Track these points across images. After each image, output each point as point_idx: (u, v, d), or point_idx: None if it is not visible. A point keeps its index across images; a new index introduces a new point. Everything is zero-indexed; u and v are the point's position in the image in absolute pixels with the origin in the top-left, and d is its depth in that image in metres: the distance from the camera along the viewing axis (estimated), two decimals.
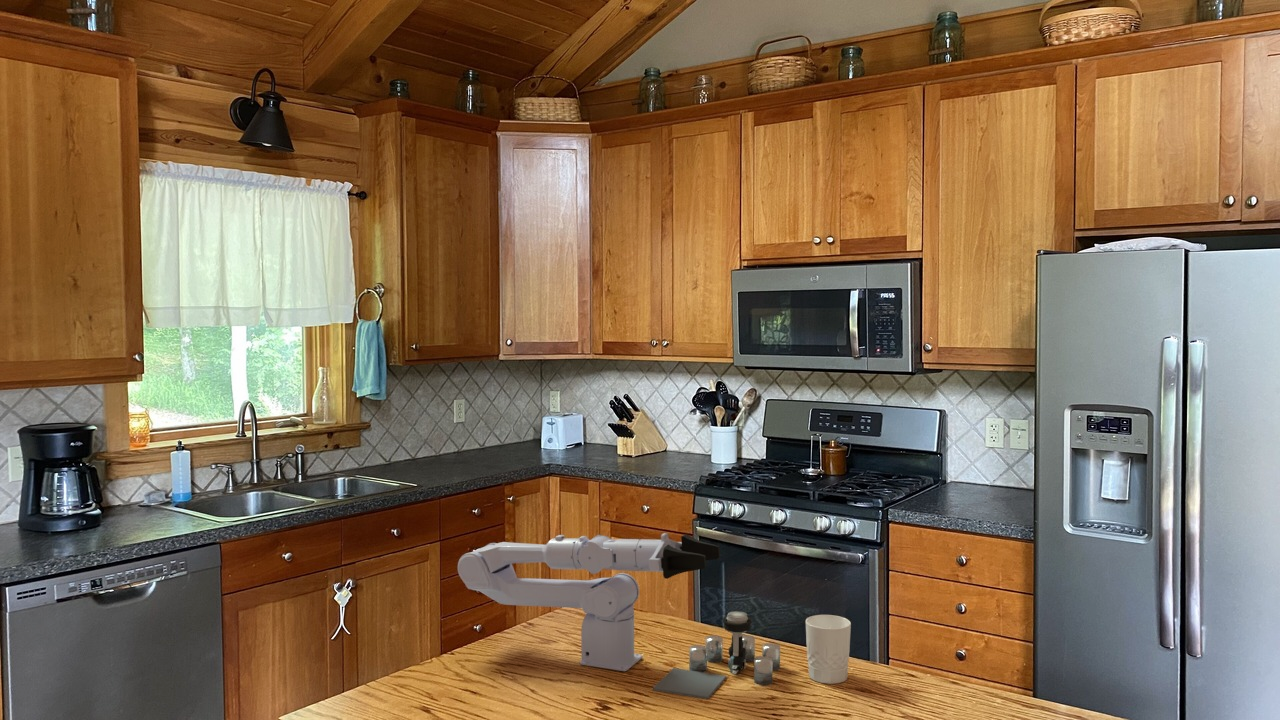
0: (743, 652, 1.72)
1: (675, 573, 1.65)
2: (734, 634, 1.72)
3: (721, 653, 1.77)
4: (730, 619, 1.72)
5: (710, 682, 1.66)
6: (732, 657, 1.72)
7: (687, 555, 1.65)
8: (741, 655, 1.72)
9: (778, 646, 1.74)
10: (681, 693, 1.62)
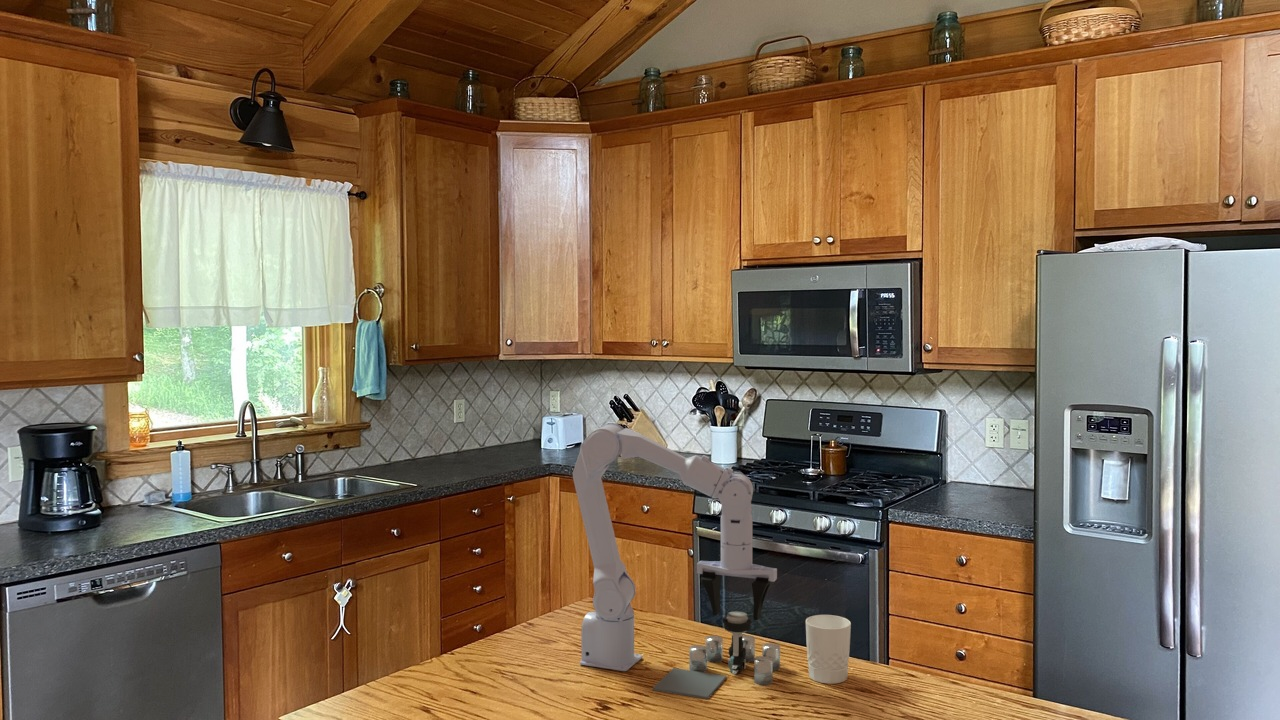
0: (743, 652, 1.72)
1: (762, 594, 1.68)
2: (734, 634, 1.72)
3: (721, 653, 1.77)
4: (730, 619, 1.72)
5: (710, 682, 1.66)
6: (732, 657, 1.72)
7: (762, 600, 1.72)
8: (741, 655, 1.72)
9: (778, 646, 1.74)
10: (681, 693, 1.62)
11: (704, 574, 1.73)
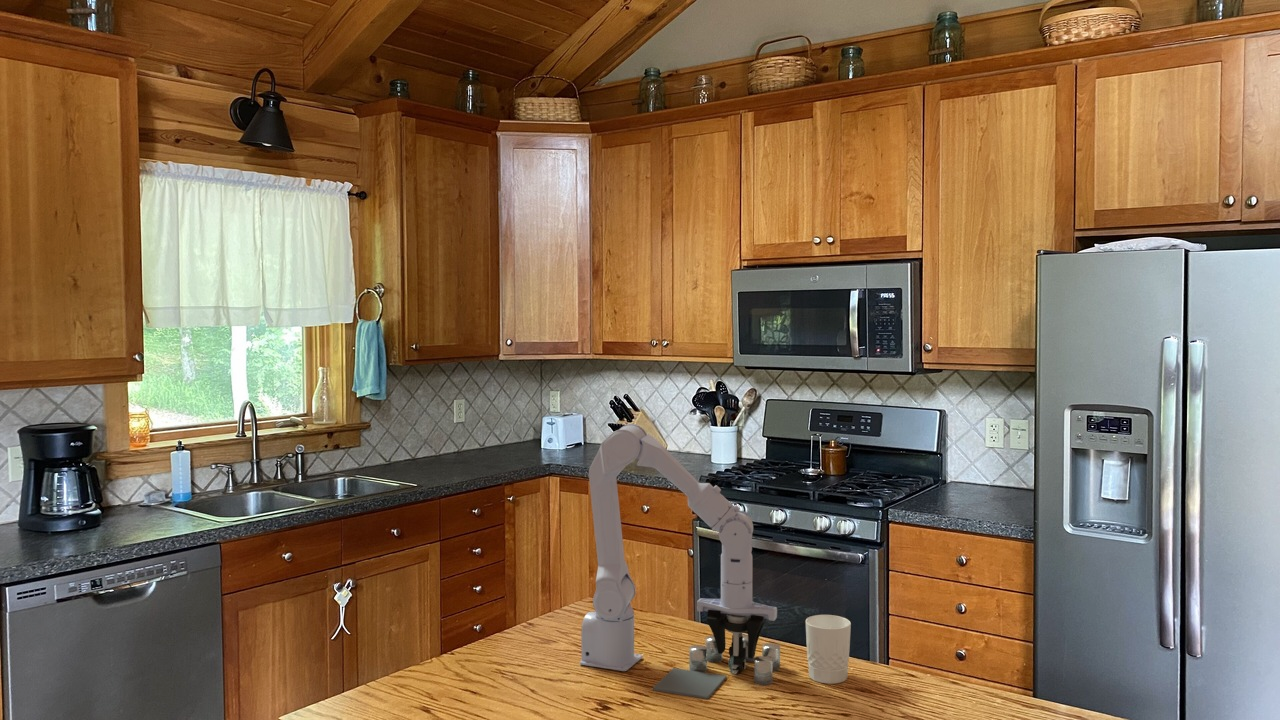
0: (744, 652, 1.72)
1: (757, 632, 1.69)
2: (734, 634, 1.72)
3: None
4: (731, 619, 1.72)
5: (710, 682, 1.66)
6: (732, 657, 1.72)
7: (757, 638, 1.72)
8: (741, 655, 1.72)
9: (778, 646, 1.74)
10: (681, 693, 1.62)
11: (709, 613, 1.73)
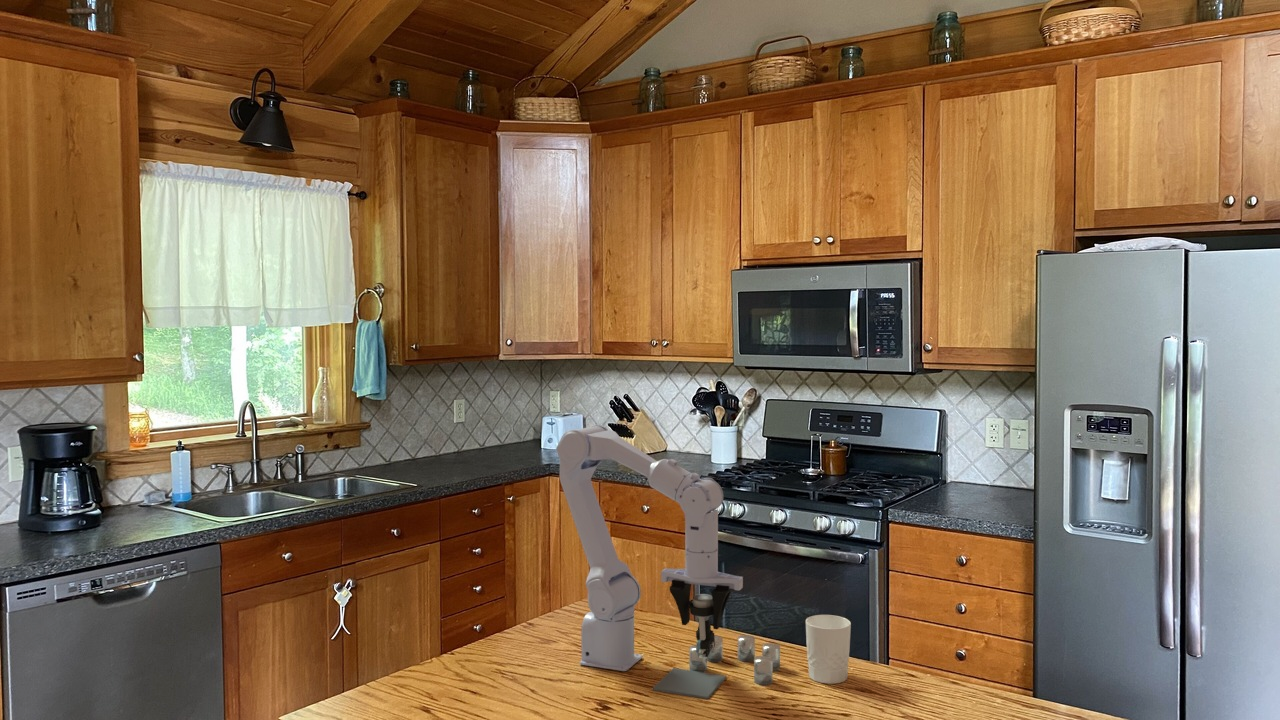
0: (711, 635, 1.68)
1: (722, 602, 1.64)
2: (700, 618, 1.67)
3: (721, 653, 1.77)
4: (695, 603, 1.67)
5: (710, 682, 1.66)
6: (699, 641, 1.68)
7: (723, 609, 1.67)
8: (708, 638, 1.68)
9: (778, 646, 1.74)
10: (681, 693, 1.62)
11: (673, 583, 1.68)
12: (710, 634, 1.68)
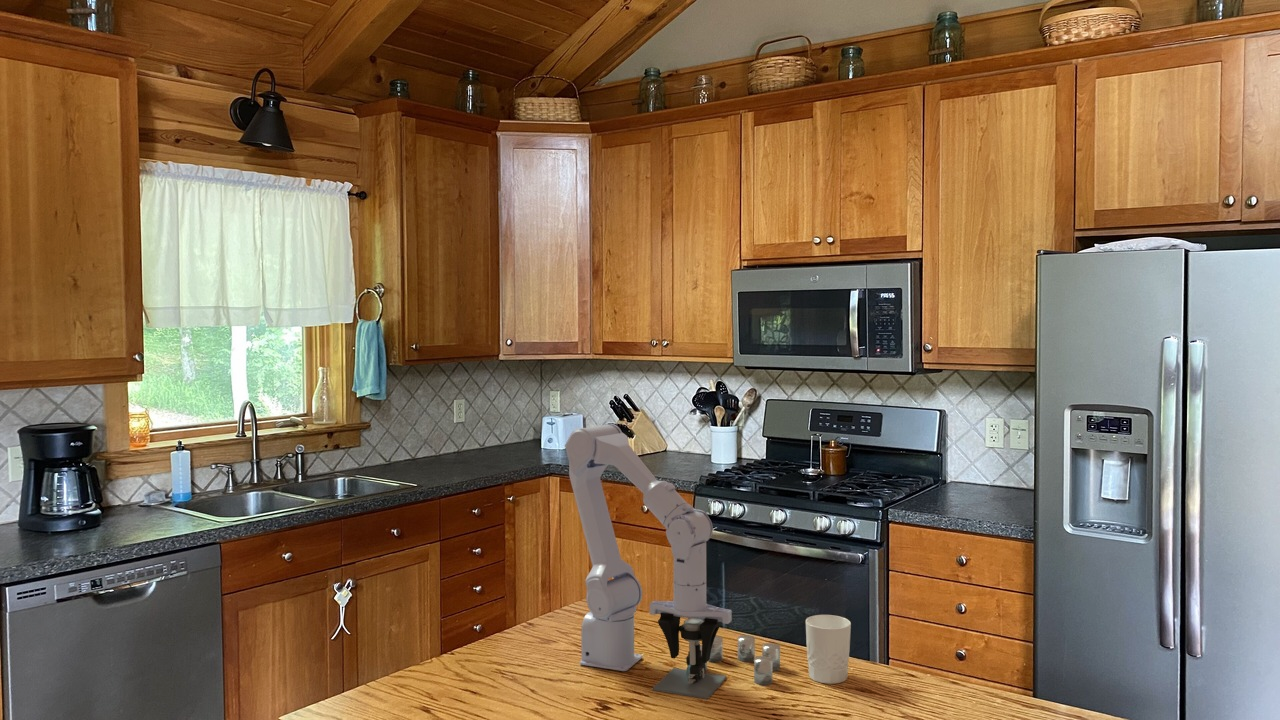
0: (701, 660, 1.67)
1: (711, 636, 1.62)
2: (690, 642, 1.66)
3: (721, 653, 1.77)
4: (686, 627, 1.67)
5: (710, 682, 1.66)
6: (689, 666, 1.66)
7: (712, 642, 1.66)
8: (698, 664, 1.67)
9: (778, 646, 1.74)
10: (681, 693, 1.62)
11: (662, 616, 1.67)
12: (700, 659, 1.67)
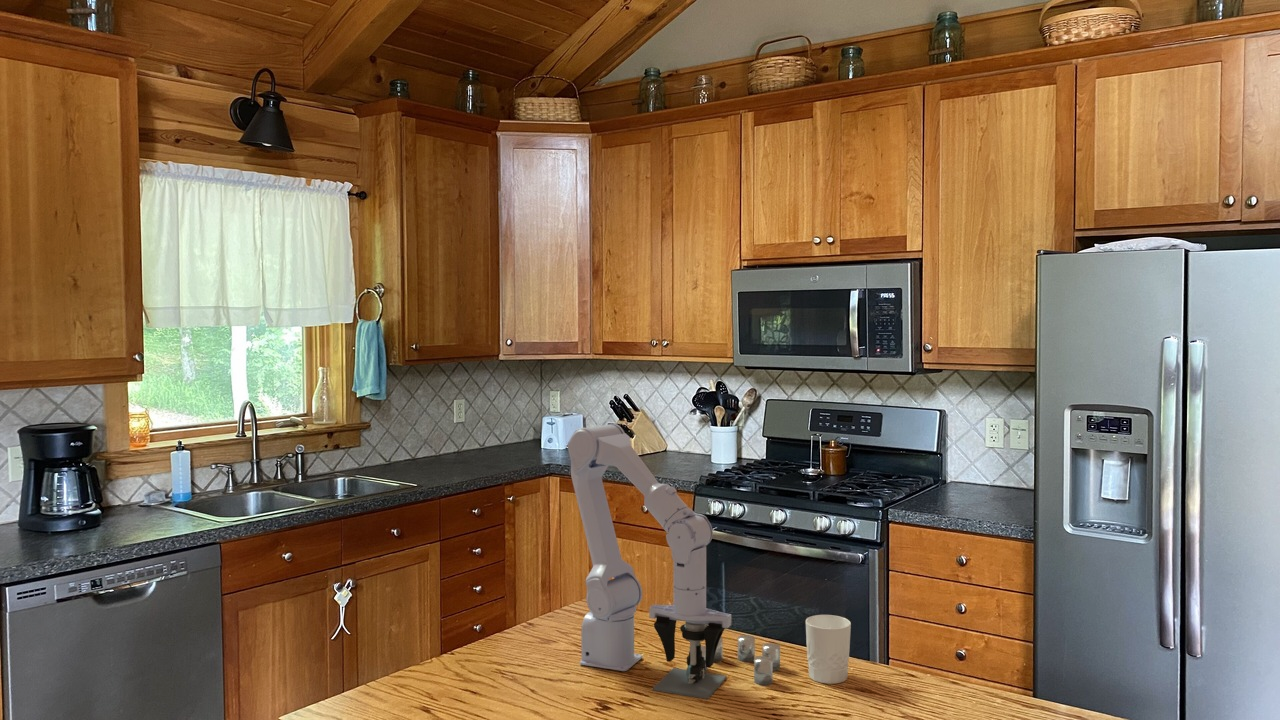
0: (701, 661, 1.67)
1: (715, 641, 1.62)
2: (691, 642, 1.66)
3: (721, 653, 1.77)
4: (687, 627, 1.66)
5: (710, 682, 1.66)
6: (689, 666, 1.66)
7: (715, 647, 1.65)
8: (699, 664, 1.67)
9: (778, 646, 1.74)
10: (681, 693, 1.62)
11: (658, 619, 1.67)
12: (701, 660, 1.67)
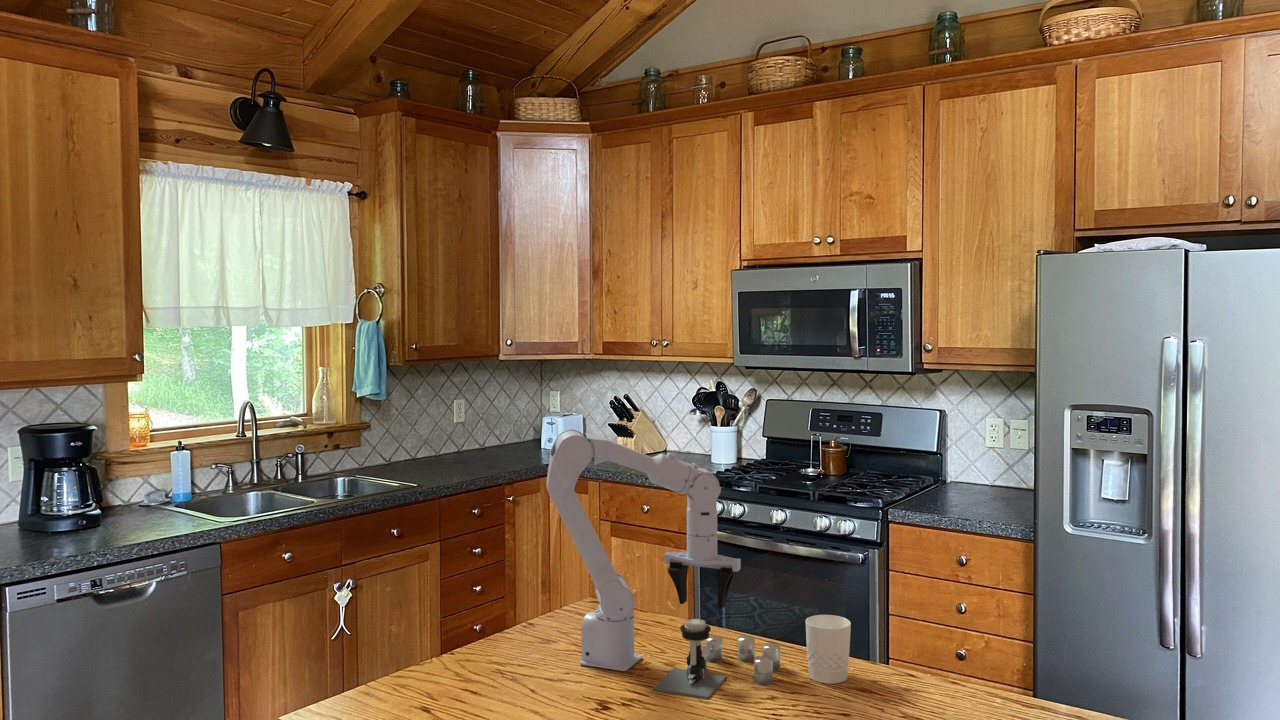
0: (701, 661, 1.67)
1: (726, 583, 1.75)
2: (691, 642, 1.66)
3: (721, 653, 1.77)
4: (687, 627, 1.66)
5: (710, 682, 1.66)
6: (689, 666, 1.66)
7: (727, 590, 1.78)
8: (699, 664, 1.67)
9: (778, 646, 1.74)
10: (681, 693, 1.62)
11: (671, 564, 1.80)
12: (701, 660, 1.67)
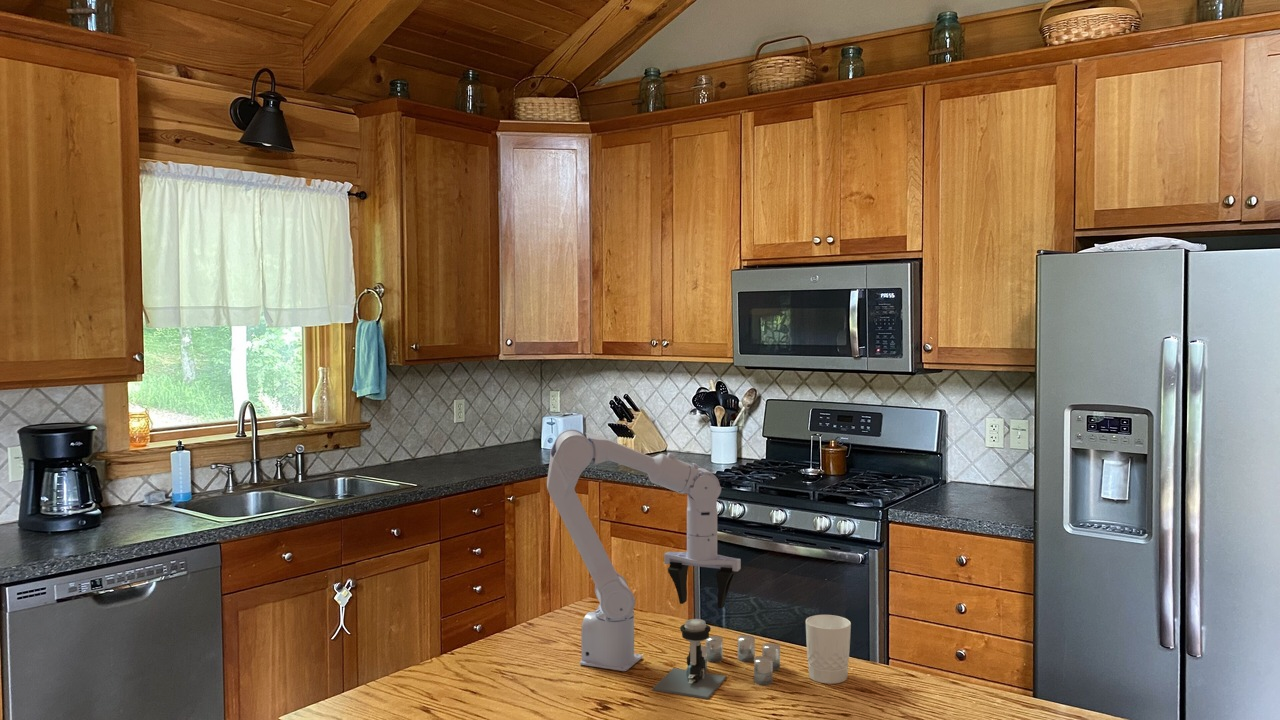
0: (701, 661, 1.67)
1: (726, 583, 1.75)
2: (691, 642, 1.66)
3: (721, 653, 1.77)
4: (687, 627, 1.66)
5: (710, 682, 1.66)
6: (689, 666, 1.66)
7: (727, 590, 1.78)
8: (699, 664, 1.67)
9: (778, 646, 1.74)
10: (681, 693, 1.62)
11: (671, 564, 1.80)
12: (701, 660, 1.67)
